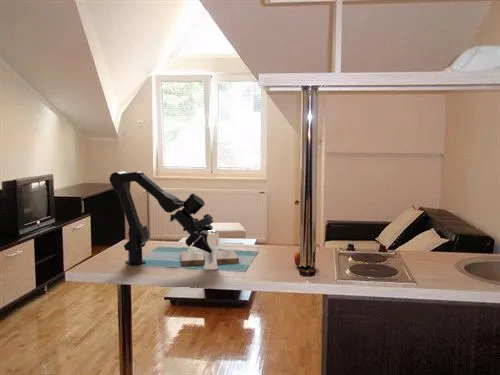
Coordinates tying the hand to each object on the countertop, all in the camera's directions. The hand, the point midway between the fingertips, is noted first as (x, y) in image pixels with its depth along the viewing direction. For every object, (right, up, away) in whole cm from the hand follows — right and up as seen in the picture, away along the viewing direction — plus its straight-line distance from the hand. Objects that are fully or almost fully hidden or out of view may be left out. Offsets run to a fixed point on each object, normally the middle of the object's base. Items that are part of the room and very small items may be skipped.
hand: (213, 250), depth 192 cm
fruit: (+37, -8, +3) cm, 38 cm away
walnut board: (-3, -6, +15) cm, 16 cm away
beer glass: (-1, -8, +1) cm, 8 cm away
